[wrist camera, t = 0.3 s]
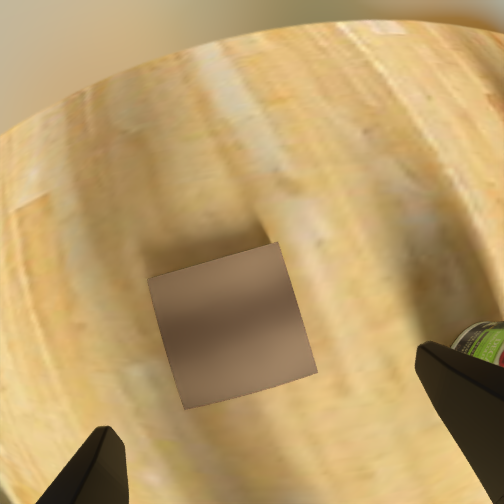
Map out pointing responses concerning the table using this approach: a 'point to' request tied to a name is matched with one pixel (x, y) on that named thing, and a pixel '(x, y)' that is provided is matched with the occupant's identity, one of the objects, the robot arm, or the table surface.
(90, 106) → the table surface
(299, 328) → the walnut block
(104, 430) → the robot arm
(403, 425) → the table surface
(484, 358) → the coffee can
